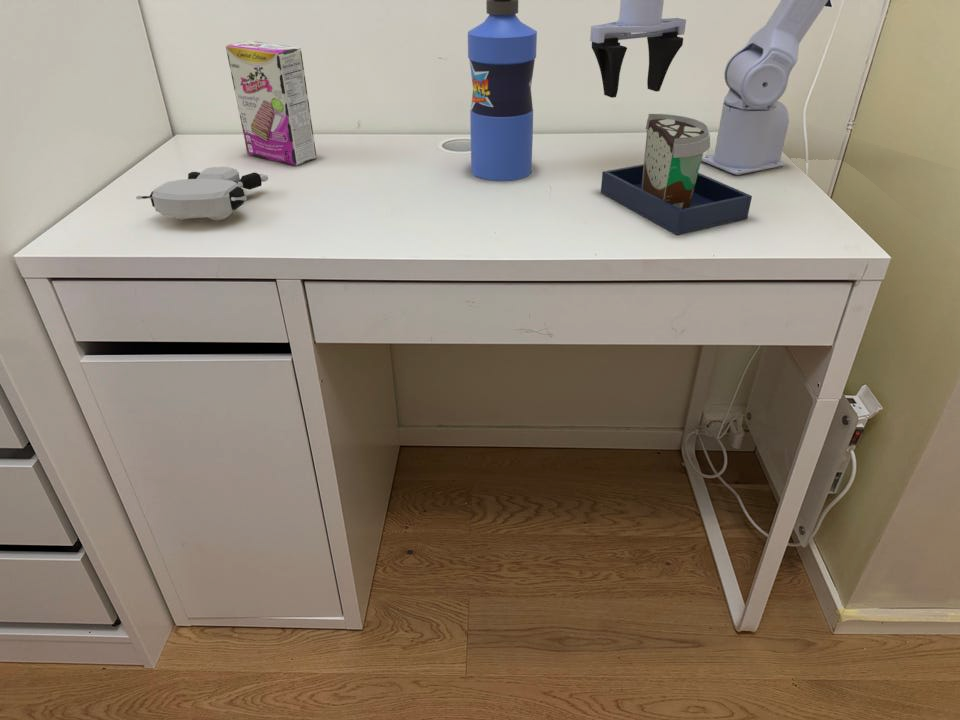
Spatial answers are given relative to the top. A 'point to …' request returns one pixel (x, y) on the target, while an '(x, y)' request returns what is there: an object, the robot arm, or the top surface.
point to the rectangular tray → (706, 209)
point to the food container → (673, 157)
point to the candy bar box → (272, 101)
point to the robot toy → (204, 194)
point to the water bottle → (501, 93)
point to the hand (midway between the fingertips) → (632, 93)
